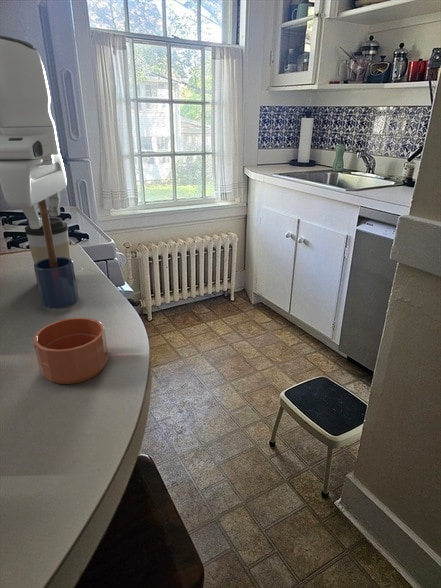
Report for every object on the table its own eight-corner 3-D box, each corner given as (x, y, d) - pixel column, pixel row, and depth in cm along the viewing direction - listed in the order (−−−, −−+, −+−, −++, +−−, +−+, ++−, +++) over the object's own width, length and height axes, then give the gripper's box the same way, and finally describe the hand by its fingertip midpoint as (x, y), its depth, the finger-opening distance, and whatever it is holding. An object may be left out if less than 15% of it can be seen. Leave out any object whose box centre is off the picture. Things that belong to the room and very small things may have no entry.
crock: (36, 311, 79) (27, 269, 75) (49, 296, 85) (42, 257, 82) (72, 310, 79) (65, 269, 75) (83, 295, 86) (76, 256, 82)
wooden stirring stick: (54, 303, 80) (34, 201, 72) (59, 297, 83) (40, 198, 75) (61, 303, 81) (42, 201, 72) (66, 297, 83) (48, 197, 75)
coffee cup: (37, 276, 96) (25, 216, 89) (76, 272, 98) (67, 213, 92) (34, 291, 88) (20, 225, 82) (76, 286, 90) (66, 222, 84)
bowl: (30, 387, 57) (21, 351, 54) (54, 349, 66) (48, 317, 63) (99, 385, 57) (94, 350, 55) (114, 348, 66) (110, 316, 64)
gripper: (36, 141, 79) (49, 210, 84) (-16, 149, 60) (5, 236, 66) (68, 140, 79) (79, 209, 84) (25, 148, 60) (43, 235, 66)
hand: (46, 221), depth 75 cm, fingers open, 8 cm apart
